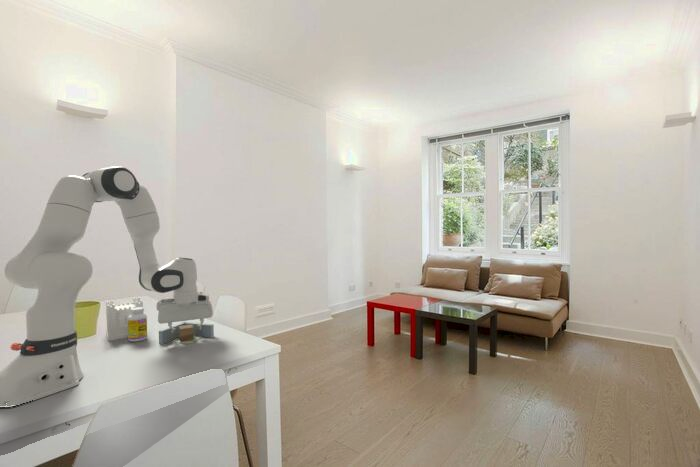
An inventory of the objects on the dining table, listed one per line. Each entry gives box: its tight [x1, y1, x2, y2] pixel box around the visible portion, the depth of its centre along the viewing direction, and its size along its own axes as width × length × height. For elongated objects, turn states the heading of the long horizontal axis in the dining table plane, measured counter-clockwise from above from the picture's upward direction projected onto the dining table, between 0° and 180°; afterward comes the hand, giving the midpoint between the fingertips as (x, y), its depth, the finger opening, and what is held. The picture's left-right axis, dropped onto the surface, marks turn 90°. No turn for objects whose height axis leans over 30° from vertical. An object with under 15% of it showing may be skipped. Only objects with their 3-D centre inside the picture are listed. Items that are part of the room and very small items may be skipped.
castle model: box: [105, 296, 144, 342], centre depth 155 cm, size 13×15×14 cm
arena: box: [158, 321, 215, 345], centre depth 145 cm, size 14×15×5 cm
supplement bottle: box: [128, 306, 148, 343], centre depth 146 cm, size 7×7×13 cm
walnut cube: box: [179, 325, 194, 342], centre depth 145 cm, size 5×5×5 cm
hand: (186, 331), depth 145 cm, fingers open, 8 cm apart
